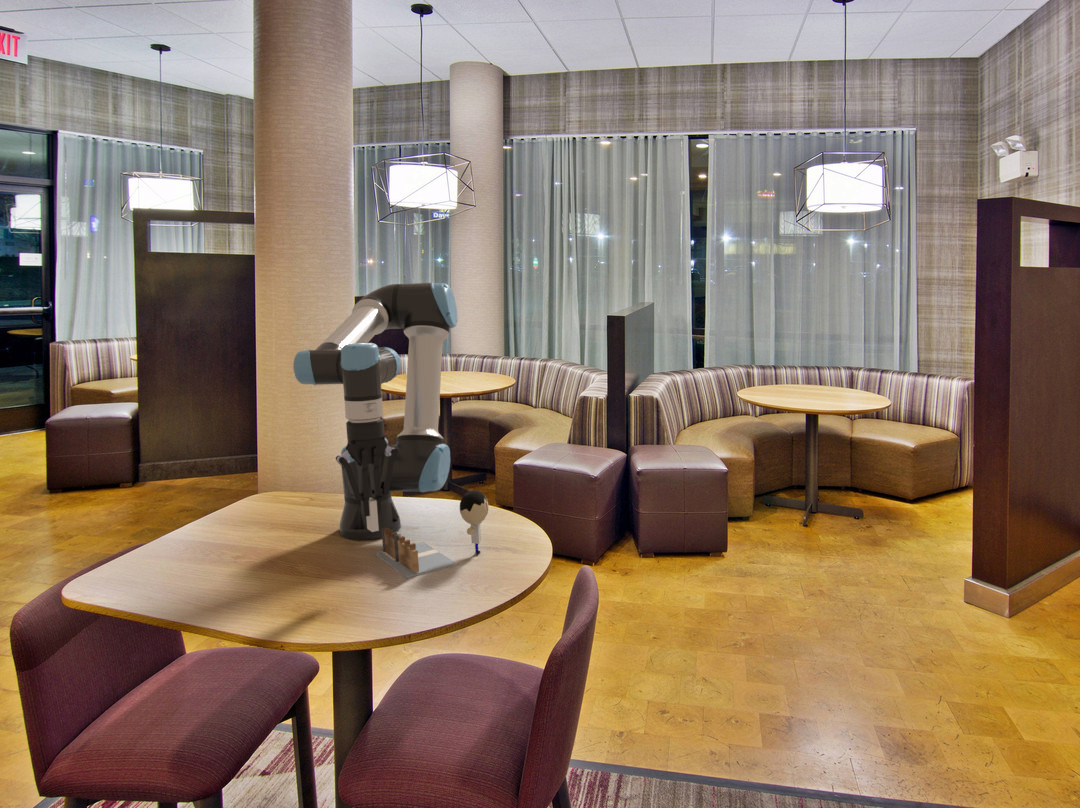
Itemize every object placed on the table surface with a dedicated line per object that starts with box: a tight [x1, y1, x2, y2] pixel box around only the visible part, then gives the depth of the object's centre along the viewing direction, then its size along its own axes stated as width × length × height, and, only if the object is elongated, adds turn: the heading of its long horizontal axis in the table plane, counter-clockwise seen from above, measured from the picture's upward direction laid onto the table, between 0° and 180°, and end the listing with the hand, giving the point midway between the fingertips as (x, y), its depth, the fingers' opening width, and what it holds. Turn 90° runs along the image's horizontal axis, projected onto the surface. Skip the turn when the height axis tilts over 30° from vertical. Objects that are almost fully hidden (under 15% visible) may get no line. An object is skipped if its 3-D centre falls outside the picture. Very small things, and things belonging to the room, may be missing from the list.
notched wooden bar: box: [398, 535, 419, 573], centre depth 168 cm, size 8×1×6 cm, turn 34°
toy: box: [459, 490, 490, 555], centre depth 175 cm, size 9×7×15 cm
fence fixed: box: [381, 527, 402, 562], centre depth 176 cm, size 9×2×6 cm, turn 34°
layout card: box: [376, 541, 457, 579], centre depth 174 cm, size 17×12×1 cm
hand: (372, 529), depth 161 cm, fingers closed
